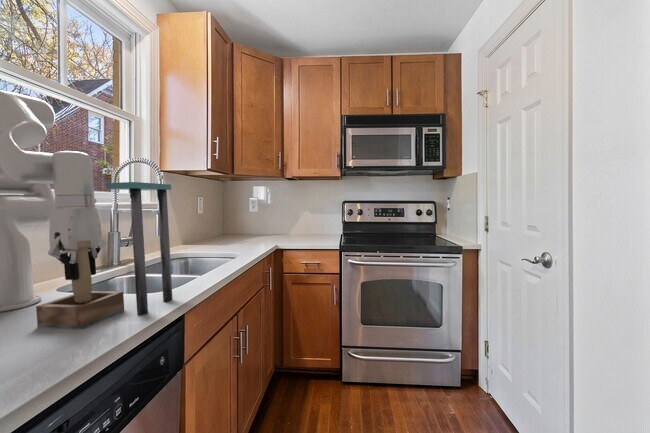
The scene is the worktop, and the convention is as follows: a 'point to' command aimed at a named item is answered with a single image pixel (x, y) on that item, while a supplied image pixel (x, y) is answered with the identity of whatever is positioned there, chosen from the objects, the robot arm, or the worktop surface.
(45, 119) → the robot arm
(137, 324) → the worktop surface
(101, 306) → the socket
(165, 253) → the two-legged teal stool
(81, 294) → the handle
